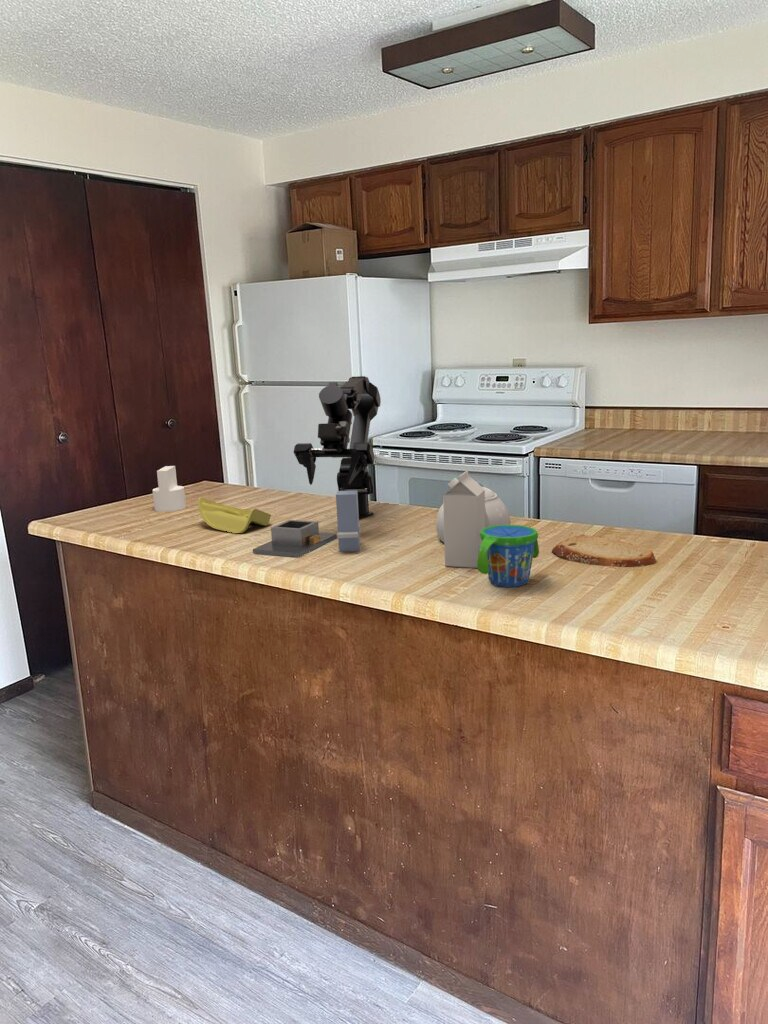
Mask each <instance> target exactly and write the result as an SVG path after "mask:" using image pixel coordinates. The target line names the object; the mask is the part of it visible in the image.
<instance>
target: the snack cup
mask: <svg viewBox="0 0 768 1024" xmlns="http://www.w3.org/2000/svg"><path fill="white" fill-rule="evenodd" d="M480 537H481V539H482V543H481V546H480V549H479V555H478V561H477V568H476V569H477V571H478V572H480V573H481V574H483V575H488V580H489V581H490V583H492V584H493V585H495V586H497V587H503V588H504V587H506V588H512V587H516V588H517V587H520V586H523V585H525V584H527V583H529V582H530V581H529V580H530V576H531V569H532V566H533V559H536V558H539V554H540V547H539V546H540V545H539V541H538V538H539V533H538V531H537V529H535V528H533V527H530V526H526V525H520V524H518V525H516V524H510V525H497V526H490V527H486V528H484V529H482V530H481V532H480Z"/></svg>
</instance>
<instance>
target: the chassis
mask: <svg viewBox="0 0 768 1024" xmlns="http://www.w3.org/2000/svg"><path fill="white" fill-rule="evenodd" d="M337 534H338V533H335V532H334V533H333V532H320V529H319V521H314V520H313V521H312V520H311V521H310V520H300V519H299V520H295V519H288V520H285V521H283V522H281V523H278V524H276V525H274V526H271V527H270V535H271V537H270V538H271V540H270V541H268V542H265V543H264V544H261V545H259V546H256V547H255V548H252V554H253V553H256V554H255V555H264V554H266V555H265V556H275V555H280V556H279V557H286V556H294V557H293V558H298V557H299V558H301V557H302V555H303V556H305V555H307V554H309V553H310V552H312V551H314V550H316V549H318V548H320V547H321V546H324V545H326V544H327V543H330V542H332V541H334V540H335V539H338V538H337ZM309 551H310V552H309ZM306 553H307V554H306ZM304 554H305V555H304ZM300 556H301V557H300Z"/></svg>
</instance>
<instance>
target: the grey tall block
mask: <svg viewBox="0 0 768 1024" xmlns="http://www.w3.org/2000/svg"><path fill="white" fill-rule="evenodd" d="M335 501H336V517H337V518H336V520H337V533H336V534H337V538H336V539H338V541H337V542H338V552H360V547H361V536H360V535H361V533H360V529H361V524H360V518H359V512H358V492H357V490H354V491H338V490H337V491H336V493H335Z"/></svg>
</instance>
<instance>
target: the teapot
mask: <svg viewBox="0 0 768 1024" xmlns="http://www.w3.org/2000/svg"><path fill="white" fill-rule="evenodd" d="M476 482H477V481H476ZM477 483H478V484H479V482H477ZM481 487H482V488H484V489H485V528H486V527H490V526H497V525H511V517H510V513H509V510H508V508H507V506H506V504H505V503H504V502H503V501H502V500H501V498H499V497H498V494H497V493H495V492H494V491H493V490H492V489H491V488H488V487H485V486H481ZM435 521H436V522H435V525H436V526H435V527H436V534H437V537H438V538H439V540H440V541H441V542H443V543H444V508H443V503H442V504H441V506H440V508H439V509H438V512H437V515H436V520H435Z"/></svg>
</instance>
